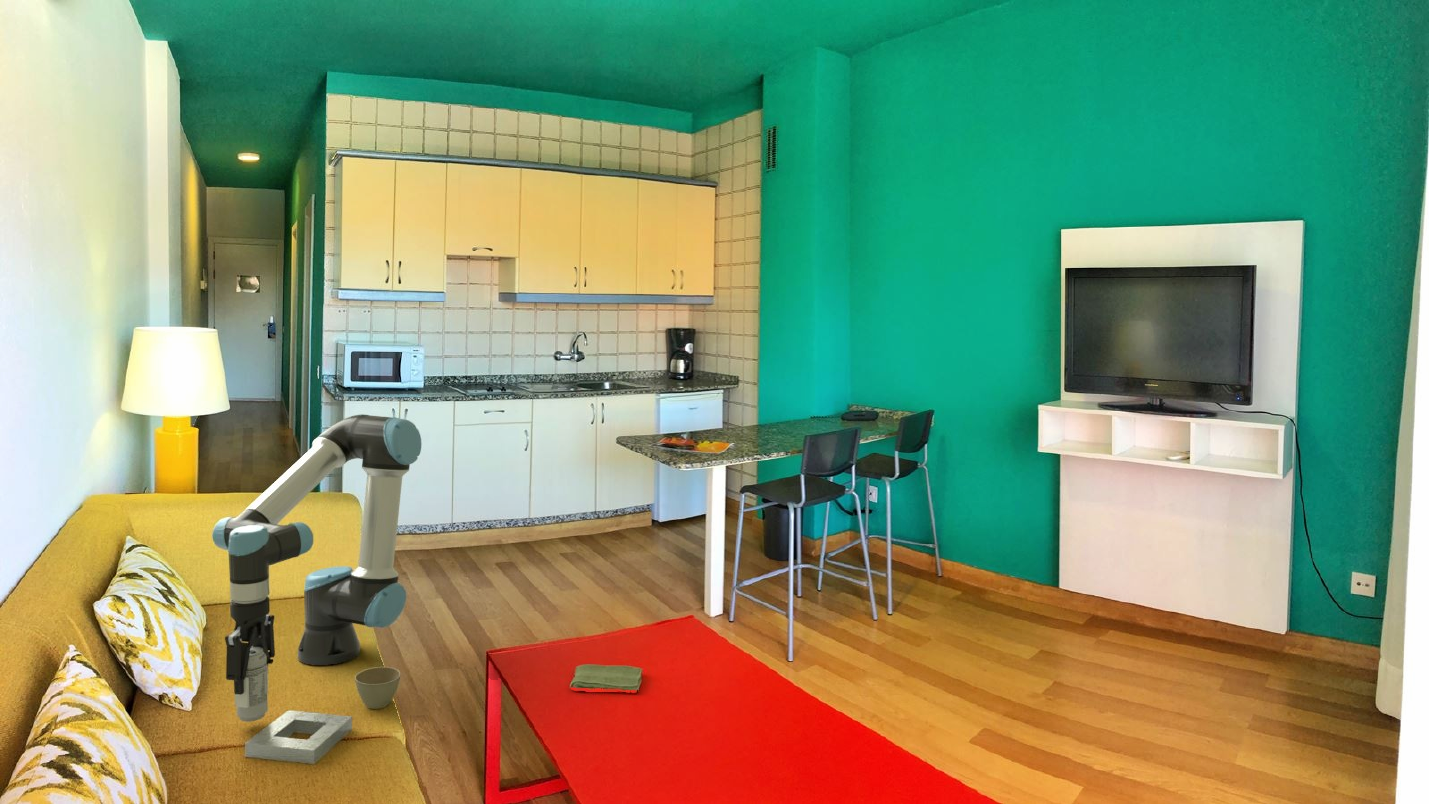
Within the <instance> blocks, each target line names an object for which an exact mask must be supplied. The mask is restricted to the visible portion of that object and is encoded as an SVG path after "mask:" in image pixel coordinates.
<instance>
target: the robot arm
mask: <svg viewBox="0 0 1429 804" xmlns="http://www.w3.org/2000/svg"><path fill="white" fill-rule="evenodd" d="M421 451H422V437H421V434H420V431H419V429H418V428H417V426H416V425H415V424H414V422H412V421H410V420H409V419H405V418H400V417H395V416H391V417H390V416H380V415H369V414H355V415H352V416H348V417H345V418H344V419H343V418H342V419H341V420H339V421H338V422H336V423H334V424H332V425H331V426H330V427H328V428H327V429H326V430H324V431H323V432H322V433H321V434H319V435H318V436H317V437H316V438H314V440H313V441H312V443H311V448H309V450H307V452H306V453H304V454H303V455H302V457H300V458H299V459H298V460H297V461H296V462H295V463H294V464H293V465H292V466H291V467H290V468H288V469H287V470H286V471H285V472H284V473H283V474H282V475H281V476H279V478H278V479H276V481H274V483H272V484H271V485H270V486H269V487H268V488H267V489H266V490H264V492H263V493H261V494H260V495H259V496H258V497H257V498H255V500H254V501H253V502H252V503H251V504H249V505H248V507H246V508H245V509H244V510H243V511H242V512H241V513H240V514H238V516H237V517H236V516H228V517H224V518H223V517H222V518H220V520H218V521H217V522H216V523H215V525H214V527H213V530H212V533H211V536H212V541H213V543H214V545H215V546H216V547H217V548H219V549H222V550H225V551H227V552H228V568H229V569H228V570H229V572H228V573H229V596H230V603H229V608H230V618H231V619H233V620H234V622H235V625H234V629H233V630H234V631H233V632H232V633H231V634H226V635H225V636H224V641H225V645H226V659H225V661H226V664H225V667H226V668H225V679H226V680H227V681H233V689H234V691H233V693H234V705H235V708H237V707H243V708H248V707H249V678H247V677H246V672H247V666H248V660H249V654H250V648H251V647H261V648H263V652H264V653H265V654H266V656H267V694H268V693H269V665H272V664H273V663H274V659H273V658H275V655H276V650H275V649H276V647H275V633H274V632H275V631H274V630H275V629H274V622H275V615H273V614H269V613H270V608H271V607H270V606H271V605H270V597H269V595H270V567H271V566H272V565H273V566H274V565H275V564H278V563H281V562H285V561H287V560H290V559H294V558H298V557H300V556H301V555H304V554H306V553H308V552H309V551H311V549H312V547H313V545H314V533H313V530H312V529H311V528H310V526H309V525H307V523H304V522H301V521H298V522H296V521H295V522H290V523H288V524H284V525H283V524H279V523H280V522H281V521H282V520H283V519H284V518H285V517H286V516H287V515H288V514H289V513H291V512H292V511H293V509H294V508H295V507H297V506H298V504H299V503H300V502H301V501H303V500H304V499H305V498H306V497H307V496H308V495H309V494H311V492H312V491H313V490H314V489H315V488H316V487H317V486H318V485H319V484H320V483H321V482H322V481H323V480H324V479H325V478H326V477H327V476H328V475H329V474H330V473H331V472H332V471H333V470H335V468H336V469H338V468H342V467H343V466H344V465H345V464H346V463H347V462H348V461H351V460H356V459H359V460H362V461H361V462H362V463H361V469H362V470H364V471H365V473H366V475H367V476H366V487H365V493H364V494H365V496H364V506H363V514H362V515H363V516H362V524H361V535H360V543H359V551H358V552H359V554H358V564H357V567H356V568H354V569H353V568H352V567H351V566H346V565H345V566H342V565H341V566H332V567H327V568H322V569H317V570H315V571H313V572H311V573H309V574H308V575H307V576H306V577H305V580H304V589H303V592H304V594H303V595H304V599H303V600H304V631H303V634H302V637H301V639H300V642H299V645H298V648H297V660H298V659H299V660H298V661H299V662H300V661H301V662H300V663H302V662H303V663H302V664H304V663H306V664H305V665H307V664H313V665H312V666H315V665H325V666H331V665H330V664H334V665H338V663H339V664H342V663H341V662H343V663H345V661H346V662H348V661H351V660H352V659H355V658H357V656H358V655H359V654H360V652H361V650H360V649H361V646H360V645H361V644H360V640H359V638H358V634H357V632H356V629H355V627H354V624H356V625H361V626H365V627H367V628H379V629H382V628H386V627H387V628H388V627H389V626H391V625H392V624H394V623H395V622H396V621H397V620H398V618H399V616H401V614H402V612H403V611H404V609H405V606H406V601H407V591H406V589H405V587H404V585H403V584H401V583H400V582H399V576H400V575H399V572H398V571H397V570H396V569H395V568H394V563H395V553H396V543H397V534H398V533H397V532H398V524H399V523H398V522H399V515H400V514H399V513H400V505H401V494H402V483H403V477H404V476H405V474H407V473H408V472H409V471H410V465H411V464H414V463H415V462H416V461H418V457H419V456H420V455H421ZM328 664H329V665H328ZM240 673H241V674H240Z"/></svg>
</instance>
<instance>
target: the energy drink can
mask: <svg viewBox="0 0 1429 804" xmlns="http://www.w3.org/2000/svg"><path fill="white" fill-rule="evenodd" d="M240 674H241V673H240ZM246 677H247V678H249V707H248V708H243V707H236V716H237V717H238V718H239V720H240V721H242V722H247V723H248V722H255V721H258V720H261V719H262V718H264V717H265V715H266V714H267V712H268V711H269V710H268V709H269V708H268V706H269V705H268V703H269V702H268V693H267V656H266V654H265V653H264V652H263V648H261V647H253V646H252V647H251V648H250V654H249V660H248V666H247V672H246Z"/></svg>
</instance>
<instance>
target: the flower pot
mask: <svg viewBox="0 0 1429 804" xmlns="http://www.w3.org/2000/svg"><path fill="white" fill-rule="evenodd" d="M401 674H402V673H401V672H400V670H399V669H397V668H394V667H390V666H389V667H388V666H377V667H369V668H367V669H363V670H361V671H358V673H356V675H355V676H354V681H355V687H356V691H357V693H358V696H359V697H360V699H361V701H362V703H363V704H364V705H365V707H366V708H367V709H371V710H378V709H383V708H385V707H388V705H389V704H390V703H391V701H392V700H393V697H394V696H395V694H396V692H397V690H398V687H399V684H400V679H401Z"/></svg>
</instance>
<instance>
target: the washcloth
mask: <svg viewBox="0 0 1429 804" xmlns="http://www.w3.org/2000/svg"><path fill="white" fill-rule="evenodd" d="M643 670H644V669H643V668H640V667H636V666H630V665H605V664H604V665H602V664H601V665H600V664H597V663H595V664H592V663H591V664H587V663H585V664H580V665H578V666H576V667H575V670H574V675H575V677H574V675H573V679H572V680H571V682H570V683H569V688H570V687H575V688H590V689H593V688H594V689H595V688H601V689H602V688H603V689H622V690H636V691H637V690H638V691H639V688H640V685H641V684H642V675H641V673H642V674H643Z"/></svg>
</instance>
